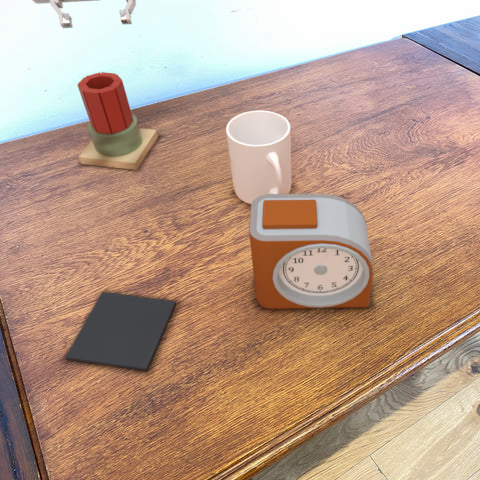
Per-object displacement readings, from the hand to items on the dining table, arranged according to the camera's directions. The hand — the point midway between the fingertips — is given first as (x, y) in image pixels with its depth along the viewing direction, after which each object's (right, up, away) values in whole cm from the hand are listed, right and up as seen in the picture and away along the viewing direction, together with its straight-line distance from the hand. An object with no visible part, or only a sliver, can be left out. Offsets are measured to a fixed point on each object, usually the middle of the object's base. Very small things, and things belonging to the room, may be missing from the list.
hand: (96, 24), depth 84 cm
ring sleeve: (+2, -16, +2) cm, 16 cm away
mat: (+12, -47, -20) cm, 53 cm away
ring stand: (+2, -20, +6) cm, 21 cm away
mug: (+28, -28, -1) cm, 40 cm away
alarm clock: (+36, -42, -15) cm, 57 cm away
